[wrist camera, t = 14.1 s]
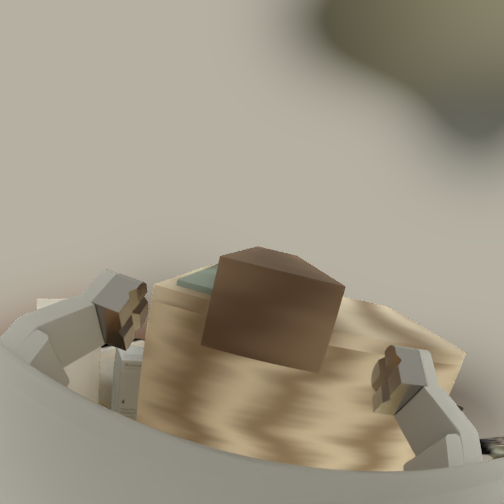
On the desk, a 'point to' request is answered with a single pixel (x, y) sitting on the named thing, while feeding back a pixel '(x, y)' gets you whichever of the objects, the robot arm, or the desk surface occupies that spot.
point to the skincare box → (126, 381)
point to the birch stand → (279, 385)
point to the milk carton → (81, 367)
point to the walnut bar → (272, 309)
